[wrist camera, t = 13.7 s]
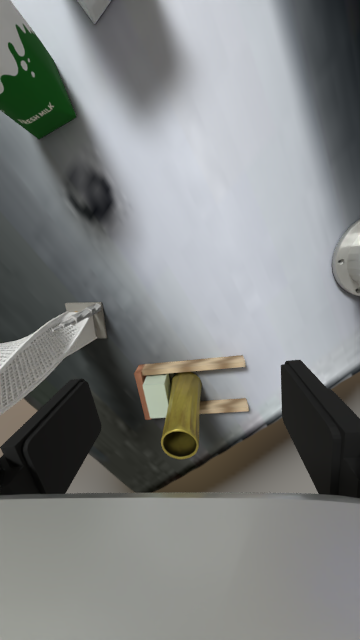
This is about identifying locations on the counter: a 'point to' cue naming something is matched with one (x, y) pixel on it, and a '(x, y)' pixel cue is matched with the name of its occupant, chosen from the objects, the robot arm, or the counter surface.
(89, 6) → the supplement box
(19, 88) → the milk carton
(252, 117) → the counter surface
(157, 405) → the block
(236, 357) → the track
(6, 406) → the skyscraper
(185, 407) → the vase
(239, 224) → the counter surface
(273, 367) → the counter surface
